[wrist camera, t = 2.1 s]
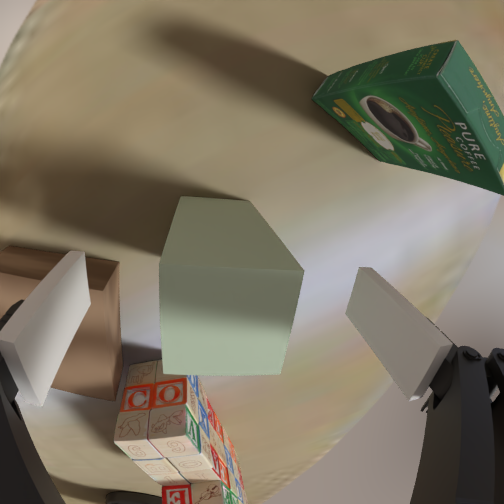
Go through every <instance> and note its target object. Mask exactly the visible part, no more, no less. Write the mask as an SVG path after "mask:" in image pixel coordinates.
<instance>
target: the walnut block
mask: <svg viewBox="0 0 504 504" xmlns="http://www.w3.org/2000/svg"><path fill="white" fill-rule="evenodd" d="M65 255H66V254H59V253H53V252H46V251H40V250H33V249H27V248H20V247H14V246H8V247H7V248H6V249H4V250H3V251H2V252H0V319H1V318H2V317H3V315H5V313H6V312H7V310H8V309H9V308H10V307H11V306H12V305H13V304H15V303H16V302H18V301H20V300H21V299H22V300H26V298H27V297H28V296H29V295H30V294H31V292H32V291H33V290H34V289H35V288H36V287H37V286H38V284H39V283H40V282H41V281H42V280H43V279H44V278H45V277H46V276H47V274H48V273H49V272H50V271H51V270H52V269H53V268H54V267H55V266H56V265H57V264H58V263H59V262H60V261H61V260H62V258H63V257H64V256H65ZM85 261H86V271H87V280H88V288H89V295H90V302H91V305H90V307H89V308H88V310H87V312H86V314H85V316H84V318H83V320H82V322H81V323H80V325H79V327H78V329H77V331H76V333H75V335H74V337H73V339H72V341H71V343H70V345H69V347H68V349H67V351H66V354H65V356H64V358H63V360H62V362H61V364H60V366H59V369H58V371H57V373H56V375H55V378H54V380H53V382H52V384H51V388H55V389H59V390H63V391H67V392H71V393H75V394H79V395H84V396H89V397H93V398H98V399H104V400H109V401H116V396H117V391H118V387H119V382H120V378H121V374H122V370H123V357H122V344H121V328H120V302H119V262H116V261H109V260H101V259H94V258H87V257H85Z"/></svg>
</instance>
